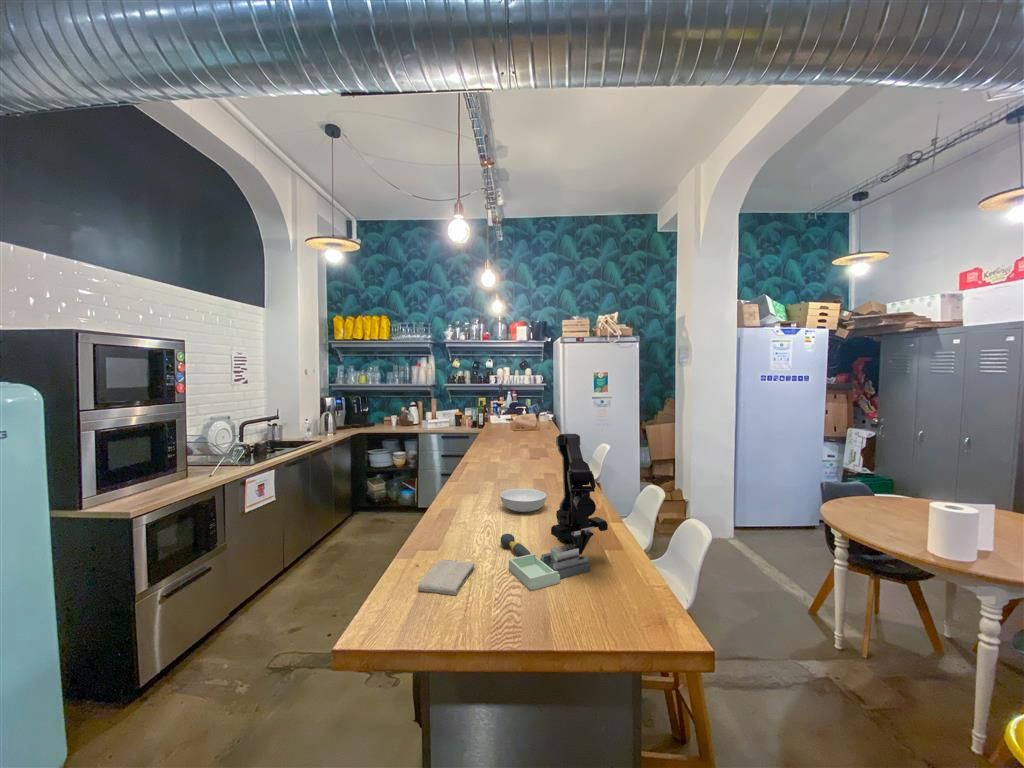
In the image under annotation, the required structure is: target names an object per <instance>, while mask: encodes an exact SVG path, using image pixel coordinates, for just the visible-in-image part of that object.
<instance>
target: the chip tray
mask: <svg viewBox="0 0 1024 768" xmlns="http://www.w3.org/2000/svg"><path fill="white" fill-rule="evenodd" d="M508 571H509V572H510V573H511V574H512V575H513V576H514V577H515V578H516V579H518V580H519V582H521V583H522V585H524V587H526V589H528V590H529V591H530V592H531V591H535V590H538V589H542V588H546V587H550V586H553V585H557V584H560V583H561V579H560V575H559V574H558V571H554V570H553V569H551V568H550V567H549V566H548V565H546V564H545V563H544V562H542V561H541V560H540V558H539V557H537V556H536V553H531V554H530V555H525V556H521V557H519V556H517V557H512V558H509V559H508Z"/></svg>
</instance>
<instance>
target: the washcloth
mask: <svg viewBox="0 0 1024 768" xmlns="http://www.w3.org/2000/svg"><path fill="white" fill-rule="evenodd" d="M474 570H475V563H474V562H472V561H459V560H458V561H457V560H453V559H443V558H442V559H441V560H439V562H437V563H436V564H433V565H432V567H431V568H430V570H429V571H428V572H427V573H426V574H425V575H424V576H423V577H422V579H420V581H419V584H418V586H417V590H418V591H420V592H425V593H435V594H440V595H448V596H449V595H450V596H456V595H458V593H459V592H460V590H461V588H462V587H463V586H464V585H465V583H466V581H467V579H468V578H469V576H471V574H472V573H473V571H474Z"/></svg>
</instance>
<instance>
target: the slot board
mask: <svg viewBox="0 0 1024 768" xmlns="http://www.w3.org/2000/svg"><path fill="white" fill-rule="evenodd" d="M540 556H541V557H540V558H539V559H540V560H541V561H542V562H544V563H545V564H546V565H548V566H549V567H550V568H551V569H553V570H554V571H558V574H559V575H560V580H562V579H565V578H568V577H573V576H577V575H580V574H584V573H589V572H590V567H591V566H590V565H591V563H589V557H588V556H586V555H583V556H579V557H578V558H574V559H570V560H566V561H562V562H558V563H553V562H551V552H548V553H543V554H542V553H541V555H540Z"/></svg>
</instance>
